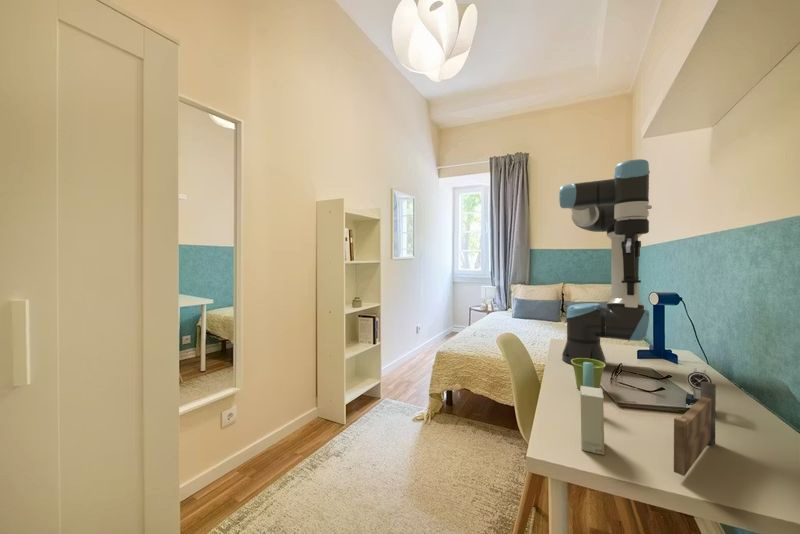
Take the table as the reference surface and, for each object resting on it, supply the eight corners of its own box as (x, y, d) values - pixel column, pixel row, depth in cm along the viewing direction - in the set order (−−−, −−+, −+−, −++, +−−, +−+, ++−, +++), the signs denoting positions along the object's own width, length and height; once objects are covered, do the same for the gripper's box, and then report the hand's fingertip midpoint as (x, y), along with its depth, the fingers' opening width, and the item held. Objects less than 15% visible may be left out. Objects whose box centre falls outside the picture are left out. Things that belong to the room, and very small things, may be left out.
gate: (701, 437, 73) (702, 380, 73) (716, 442, 71) (716, 384, 71) (670, 476, 60) (670, 408, 60) (687, 484, 58) (687, 413, 58)
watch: (684, 411, 86) (684, 371, 86) (687, 402, 92) (687, 364, 92) (713, 418, 82) (714, 376, 82) (715, 408, 88) (715, 368, 88)
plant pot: (604, 398, 95) (603, 369, 95) (568, 391, 101) (568, 363, 101) (606, 388, 103) (606, 361, 102) (573, 381, 108) (573, 356, 108)
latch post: (584, 407, 89) (584, 361, 89) (594, 410, 88) (594, 363, 87) (582, 411, 87) (582, 363, 87) (592, 413, 86) (592, 365, 86)
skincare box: (604, 456, 67) (604, 398, 67) (580, 450, 69) (580, 394, 69) (602, 441, 73) (602, 388, 73) (580, 436, 75) (580, 384, 75)
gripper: (646, 216, 79) (646, 311, 80) (651, 220, 89) (650, 305, 89) (610, 218, 84) (610, 308, 85) (618, 222, 94) (618, 303, 94)
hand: (631, 306), depth 87 cm, fingers closed
